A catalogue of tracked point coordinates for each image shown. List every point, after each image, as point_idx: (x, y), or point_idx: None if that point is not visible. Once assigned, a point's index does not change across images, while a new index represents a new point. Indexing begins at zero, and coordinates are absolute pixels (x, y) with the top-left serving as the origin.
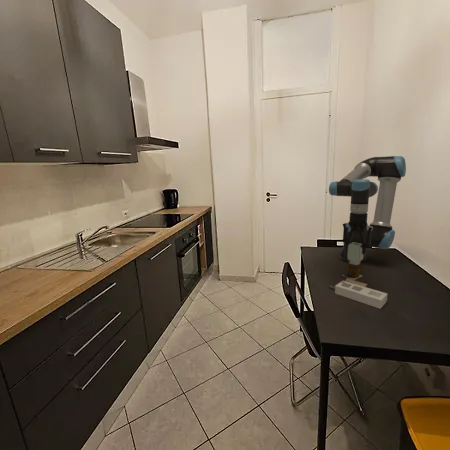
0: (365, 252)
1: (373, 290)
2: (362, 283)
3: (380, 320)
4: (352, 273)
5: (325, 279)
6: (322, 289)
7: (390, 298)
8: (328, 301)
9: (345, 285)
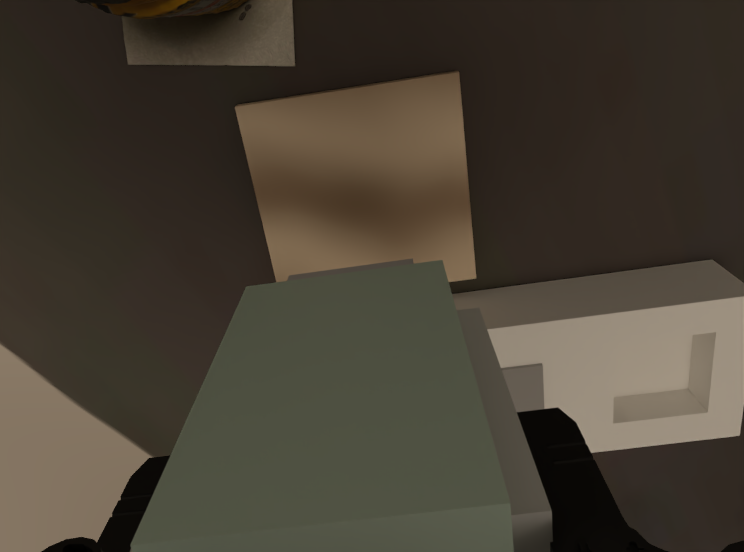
0: (578, 440)
1: (633, 327)
2: (414, 102)
3: (733, 499)
4: (222, 9)
5: (111, 280)
6: None
7: (725, 175)
8: None
9: None
